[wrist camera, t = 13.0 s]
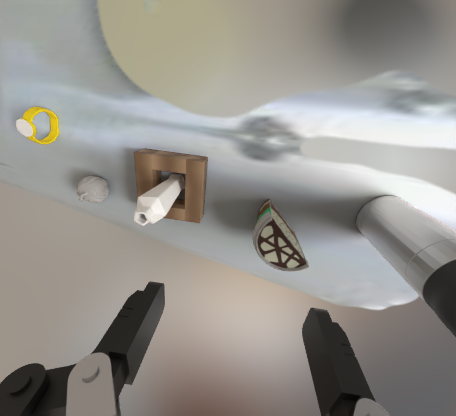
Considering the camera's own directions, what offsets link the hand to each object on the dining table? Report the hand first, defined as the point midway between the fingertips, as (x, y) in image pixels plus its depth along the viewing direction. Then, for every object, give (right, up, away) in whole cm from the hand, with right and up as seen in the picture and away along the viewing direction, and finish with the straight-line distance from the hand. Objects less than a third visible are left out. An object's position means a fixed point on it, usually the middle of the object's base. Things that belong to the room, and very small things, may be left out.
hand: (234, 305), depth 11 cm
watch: (-33, +21, +27) cm, 47 cm away
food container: (+8, +2, +32) cm, 33 cm away
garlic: (-27, +10, +32) cm, 43 cm away
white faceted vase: (-11, +10, +30) cm, 33 cm away
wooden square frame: (-11, +10, +30) cm, 33 cm away
